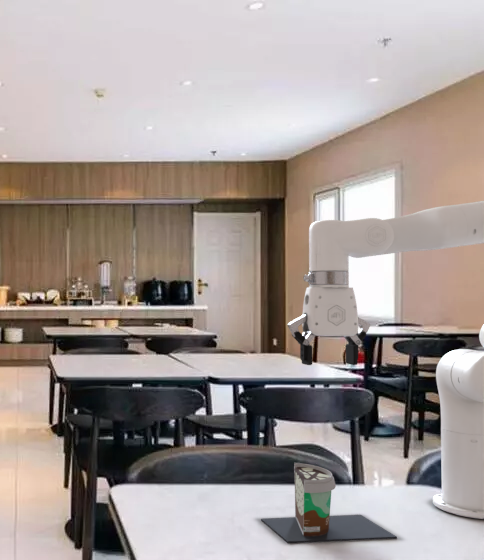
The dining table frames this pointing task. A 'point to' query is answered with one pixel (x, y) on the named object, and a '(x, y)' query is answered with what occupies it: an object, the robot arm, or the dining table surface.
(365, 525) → the mat
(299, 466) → the food container
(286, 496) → the dining table surface
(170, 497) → the dining table surface
